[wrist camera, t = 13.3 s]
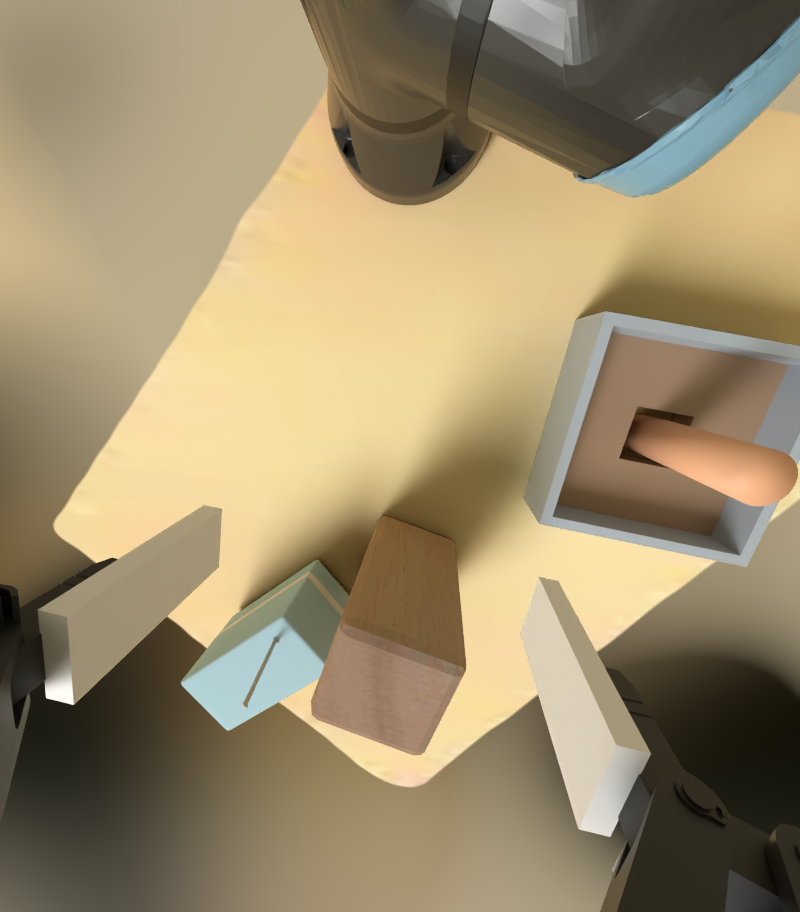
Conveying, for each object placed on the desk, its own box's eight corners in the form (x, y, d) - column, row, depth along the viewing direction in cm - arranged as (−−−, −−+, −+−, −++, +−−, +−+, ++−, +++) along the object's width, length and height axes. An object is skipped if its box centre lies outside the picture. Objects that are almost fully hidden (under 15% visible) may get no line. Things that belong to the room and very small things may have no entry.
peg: (627, 411, 40) (746, 444, 24) (664, 418, 40) (808, 456, 24) (614, 446, 41) (721, 499, 25) (651, 453, 41) (781, 511, 25)
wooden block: (357, 576, 48) (303, 721, 29) (381, 510, 46) (339, 621, 26) (429, 603, 48) (423, 766, 29) (457, 538, 46) (472, 670, 26)
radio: (277, 657, 53) (186, 827, 34) (235, 611, 52) (116, 761, 33) (362, 604, 49) (314, 761, 30) (319, 554, 48) (241, 684, 29)
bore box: (575, 319, 38) (605, 311, 31) (776, 355, 37) (851, 355, 30) (523, 498, 43) (539, 523, 37) (697, 533, 42) (746, 566, 36)
